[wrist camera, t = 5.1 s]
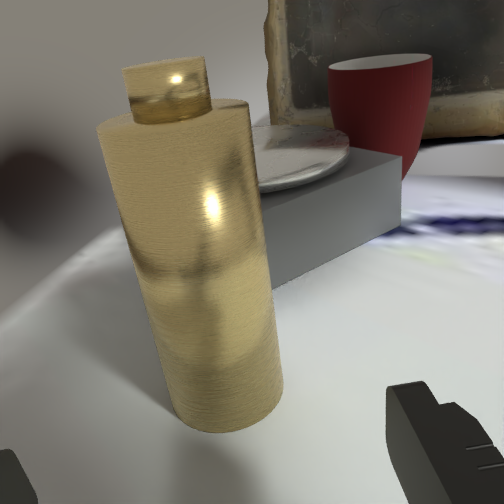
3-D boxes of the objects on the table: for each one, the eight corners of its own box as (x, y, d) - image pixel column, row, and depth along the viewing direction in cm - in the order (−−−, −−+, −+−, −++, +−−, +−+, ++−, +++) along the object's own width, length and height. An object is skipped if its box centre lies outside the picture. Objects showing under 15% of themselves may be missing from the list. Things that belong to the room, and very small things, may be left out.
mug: (340, 160, 48) (336, 57, 43) (423, 157, 46) (428, 47, 41) (326, 199, 39) (320, 73, 35) (429, 197, 37) (436, 62, 32)
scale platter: (271, 130, 41) (270, 118, 40) (391, 151, 31) (391, 136, 30) (133, 170, 34) (129, 157, 34) (227, 214, 25) (224, 196, 24)
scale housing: (273, 184, 44) (268, 131, 42) (400, 225, 33) (402, 156, 31) (137, 234, 38) (122, 174, 35) (238, 306, 26) (225, 226, 24)
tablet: (272, 168, 49) (240, -130, 38) (274, 136, 61) (250, -96, 50) (603, 133, 46) (677, -206, 34) (535, 106, 58) (573, -149, 46)
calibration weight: (242, 337, 24) (193, 51, 18) (306, 389, 20) (274, 48, 14) (153, 385, 21) (62, 75, 15) (208, 454, 18) (116, 79, 12)
